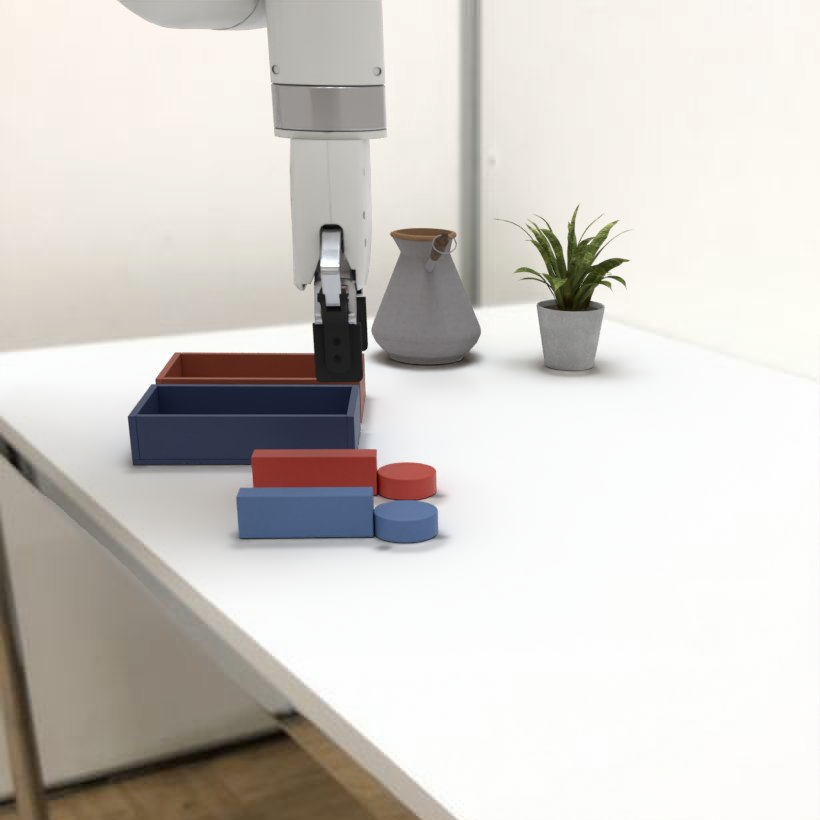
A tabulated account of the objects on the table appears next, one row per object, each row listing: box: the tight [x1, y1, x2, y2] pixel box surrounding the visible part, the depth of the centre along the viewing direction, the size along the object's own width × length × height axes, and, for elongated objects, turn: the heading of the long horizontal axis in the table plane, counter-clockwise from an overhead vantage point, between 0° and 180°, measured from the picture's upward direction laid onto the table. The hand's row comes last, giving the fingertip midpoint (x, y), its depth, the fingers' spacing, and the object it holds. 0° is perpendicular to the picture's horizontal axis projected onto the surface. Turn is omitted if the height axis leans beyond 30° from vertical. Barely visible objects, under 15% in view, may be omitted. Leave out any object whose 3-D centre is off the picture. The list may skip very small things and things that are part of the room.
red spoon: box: [251, 448, 438, 501], centre depth 101 cm, size 13×4×3 cm, turn 97°
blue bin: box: [127, 383, 362, 466], centre depth 111 cm, size 17×10×4 cm, turn 97°
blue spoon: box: [235, 487, 439, 544], centre depth 93 cm, size 13×4×3 cm, turn 97°
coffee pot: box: [370, 227, 482, 365], centre depth 136 cm, size 21×12×15 cm, turn 14°
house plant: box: [495, 203, 634, 371], centre depth 139 cm, size 14×14×16 cm
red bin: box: [154, 351, 367, 424], centre depth 122 cm, size 17×10×4 cm, turn 97°
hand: (343, 365), depth 98 cm, fingers open, 9 cm apart
